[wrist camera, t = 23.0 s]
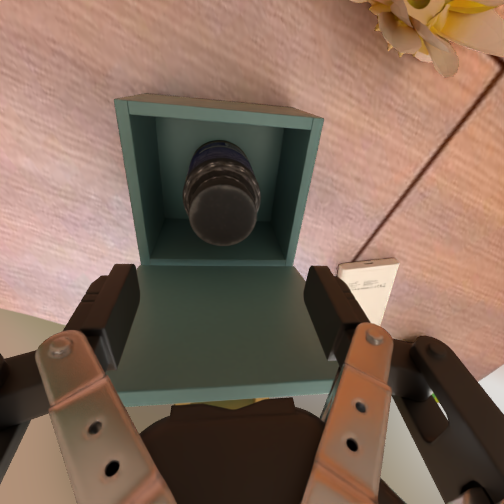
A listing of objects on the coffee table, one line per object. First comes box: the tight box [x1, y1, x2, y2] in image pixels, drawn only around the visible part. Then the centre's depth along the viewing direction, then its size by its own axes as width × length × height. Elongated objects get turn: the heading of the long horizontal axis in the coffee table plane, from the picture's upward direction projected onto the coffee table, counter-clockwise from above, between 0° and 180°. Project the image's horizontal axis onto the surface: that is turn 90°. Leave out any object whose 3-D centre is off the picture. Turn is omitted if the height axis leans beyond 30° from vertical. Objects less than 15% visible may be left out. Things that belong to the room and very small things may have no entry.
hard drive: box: [337, 258, 399, 326], centre depth 40 cm, size 2×8×12 cm
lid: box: [105, 265, 339, 409], centre depth 18 cm, size 13×14×5 cm
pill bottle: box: [182, 140, 261, 246], centre depth 22 cm, size 6×6×11 cm
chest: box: [114, 93, 324, 266], centre depth 24 cm, size 13×14×9 cm
